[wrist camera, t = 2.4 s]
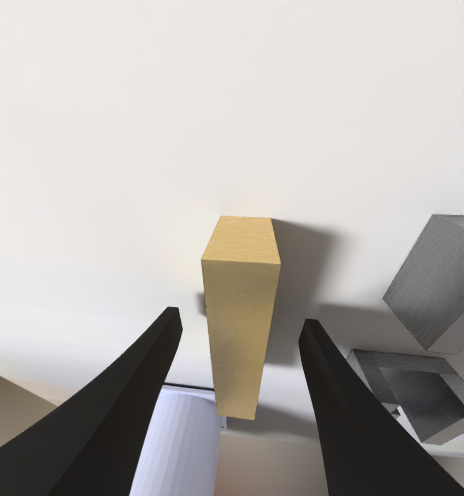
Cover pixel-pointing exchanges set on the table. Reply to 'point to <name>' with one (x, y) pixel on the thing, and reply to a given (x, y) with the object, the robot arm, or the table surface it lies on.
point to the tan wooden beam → (239, 308)
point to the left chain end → (415, 391)
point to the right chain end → (433, 286)
